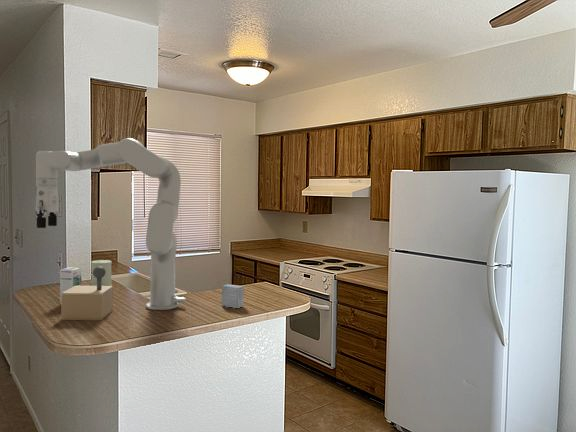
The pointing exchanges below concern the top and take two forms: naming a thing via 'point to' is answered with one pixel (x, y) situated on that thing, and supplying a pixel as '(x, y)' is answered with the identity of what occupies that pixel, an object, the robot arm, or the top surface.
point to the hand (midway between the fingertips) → (47, 226)
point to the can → (107, 278)
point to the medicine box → (232, 296)
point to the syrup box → (69, 278)
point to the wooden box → (86, 306)
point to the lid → (90, 290)
